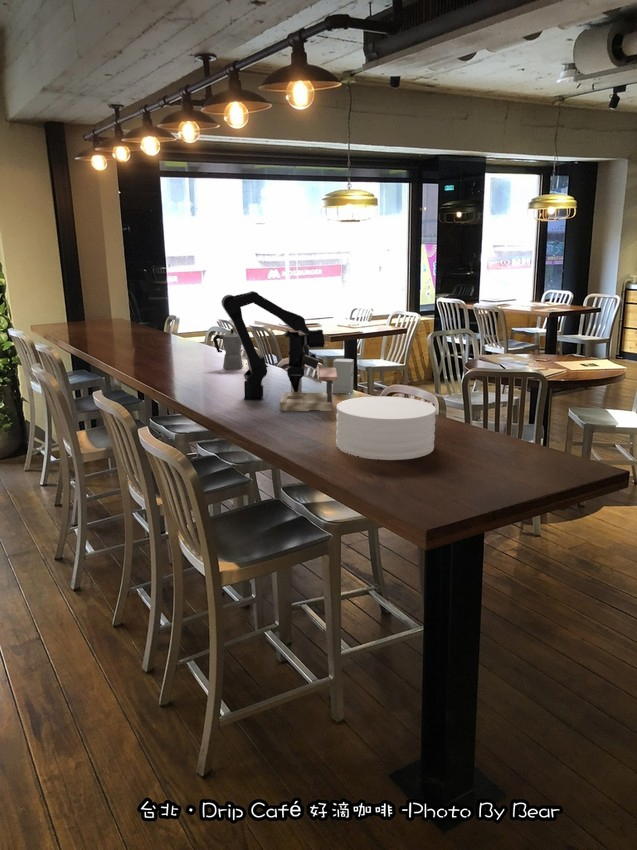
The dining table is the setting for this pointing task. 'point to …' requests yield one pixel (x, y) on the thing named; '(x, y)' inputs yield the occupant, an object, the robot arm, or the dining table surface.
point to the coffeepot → (230, 350)
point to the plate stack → (385, 427)
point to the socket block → (311, 396)
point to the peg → (298, 387)
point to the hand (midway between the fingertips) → (296, 389)
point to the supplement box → (343, 376)
